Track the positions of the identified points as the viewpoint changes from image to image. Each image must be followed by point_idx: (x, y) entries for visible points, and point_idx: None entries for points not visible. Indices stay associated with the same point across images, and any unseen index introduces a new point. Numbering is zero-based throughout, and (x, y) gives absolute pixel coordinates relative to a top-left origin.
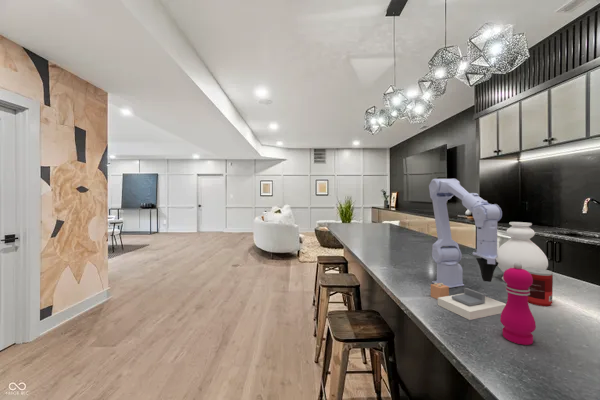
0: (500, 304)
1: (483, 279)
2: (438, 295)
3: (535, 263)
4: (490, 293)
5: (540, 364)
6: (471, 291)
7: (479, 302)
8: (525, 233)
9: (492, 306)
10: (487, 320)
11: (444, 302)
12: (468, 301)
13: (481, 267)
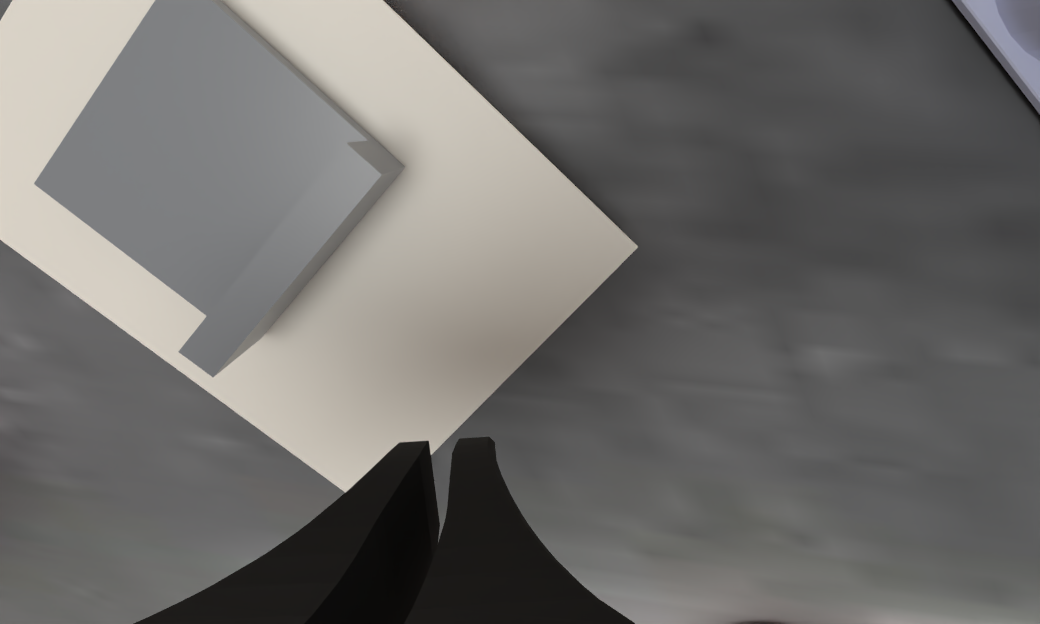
0: (330, 462)
1: (387, 453)
2: None
3: None
4: (866, 409)
5: None
6: (278, 232)
7: (182, 289)
8: None
9: (227, 391)
10: (92, 308)
11: None
12: (94, 175)
13: (206, 594)
